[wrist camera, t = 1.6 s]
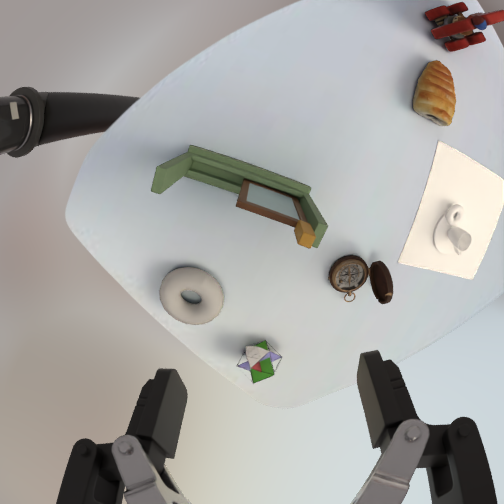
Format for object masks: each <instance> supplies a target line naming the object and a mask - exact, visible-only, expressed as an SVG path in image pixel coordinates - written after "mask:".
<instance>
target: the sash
mask: <svg viewBox="0 0 504 504" xmlns="http://www.w3.org/2000/svg"><path fill="white" fill-rule="evenodd" d="M236 207H239V208H242V209H245V210H247V211H250V212H253V213H256V214H259V215H262V216H265V217H267V218H270V219H273V220H276V221H278V222H281V223H284V224H287V225H289V226H292V227H295V229H294V232H295V236H296V239H297V243H298V244H299V245H301V246H304V247H307V248H311V246H312V244H313V242H314V240H315V238H316V235H315V233H314V231H313V229H312V226H311V224H310V223H308V221H307V219H306V217H305V214H304V212H303V210H302V208H301V205H300V203H299V201H298V199H297V197H294V196H292V195H289V194H287V193H284V192H281V191H279V190H276V189H273V188H270V187H268V186H265V185H262V184H259V183H257V182H254V181H251V180H248V179H245V178H244V179H243V182H242V186H241V189H240V193H239V196H238V199H237V203H236Z"/></svg>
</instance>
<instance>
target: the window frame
mask: <svg viewBox="0 0 504 504" xmlns="http://www.w3.org/2000/svg"><path fill="white" fill-rule="evenodd" d="M183 176H185V177H188V178H191V179H194V180H197V181H200V182H204V183H207V184H210V185H213V186H216V187H219V188H222V189H225V190H228V191H231V192H233V193H236V194H239V193H240V189H241V186H242V182H243V179H244V178H245V179H248V180H251V181H254V182H257V183H259V184H262V185H265V186H268V187H270V188H273V189H276V190H279V191H281V192H284V193H287V194H289V195H292V196H294V197H297V199H298V201H299V203H300V205H301V208H302V210H303V212H304V214H305V217H306V219H307V221H308V223H310V224H311V226H312V229H313V231H314V233H315V235H316V238H315V240H314V242H313V244H312V246H313V247H315V248H318V246H319V244H320V242H321V240H322V238H323V236H324V234H325V231H326V229H327V227H328V225H327V223H326V222H325V220H324V218H323V217H322V215H321V213H320V212H319V210H318V208H317V207H316V205H315V203H314V202H313V200H312V199H311V197H310V195H309V193H310V191H311V187H310V186H307V185H305V184H302V183H300V182H297V181H295V180H292V179H289V178H287V177H284V176H282V175H279V174H276V173H274V172H271V171H268V170H266V169H263V168H260V167H257V166H254V165H252V164H249V163H246V162H243V161H240V160H237V159H234V158H231V157H228V156H225V155H222V154H219V153H216V152H213V151H210V150H206V149H203V148H200V147H197V146H193V145H190V146H189V149H188V152H186V153H184V154H182V155H180V156H178V157H176V158H174V159H171V160H169V161H167V162H165V163H163V164H161V165H159V166H157V168H156V172H155V176H154V180H153V184H152V188H151V191H152V192H155V193H158V194H161V193H162V192H164V191H165V190H166V189H167V188H169V187H170V186H171V185H173V184H174V183H175V182H176V181H178V180H179V179H180V178H182V177H183Z"/></svg>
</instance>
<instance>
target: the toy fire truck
mask: <svg viewBox="0 0 504 504" xmlns="http://www.w3.org/2000/svg"><path fill="white" fill-rule="evenodd" d="M467 10H468V8H467V6H466V5H465V3H464V2H460V3H456V4H453V5H450V6H448V7H446V6H440V7H437V8H434V9H431V10H429V11H427V12H425V15H426V16H427V18H428V19H429V20H430V21H433V20H435V22H436V24H437V25H439V26H440V27H437V28H434V29H432V30H431V32H432V34H433V36H434V38H435V39H440V38H443V37H448V36H449V37H450V39H451V40H450V41H447V42H445V46H446V48H447V49H448V51H450V52H451V51H456V50H460V49H463V48H466V47H468V46H469V45H474V44H478V43H482V42H484V41H486V39H485V37H484V35H483V33H482V32H476V33H474V32H473V29H476V28H478V29H479V30H484V29H486V27H487V25H492V24H495V23H498V22H501V21H504V10H498V11H493V12H488V13H475V14H472V15H469V16H468V17H467V18H465V17H464V16H463V14H462V12H465V11H467ZM455 14H457V15H458V16H456V17H453V16H452V15H455ZM448 15H449V17H448ZM465 35H466V36H465Z"/></svg>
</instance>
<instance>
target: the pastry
mask: <svg viewBox="0 0 504 504" xmlns="http://www.w3.org/2000/svg"><path fill="white" fill-rule="evenodd" d="M455 104H456V97H455V92H454V83H453V78H452V76H451V72H450V71H449V70H448V68H447V67H445V66H444V65H443V64H441V62H440V61H437V60H436V61H432V62H429V63H428V64H427V66H426V68H425V70H424V71H423V72H422V75H421V76H420V78H419V79H418V84H417V86H416V90H415V95H414V98H413V109H414V111H415V112H417V113H418V114H419V115H421V116H422V117H426V118H428V119H431V120H432V121H433V122H434V123H435V124H438V125H440V126H448V125H450V124H451V123H452V117H453V115H454V112H455Z"/></svg>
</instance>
